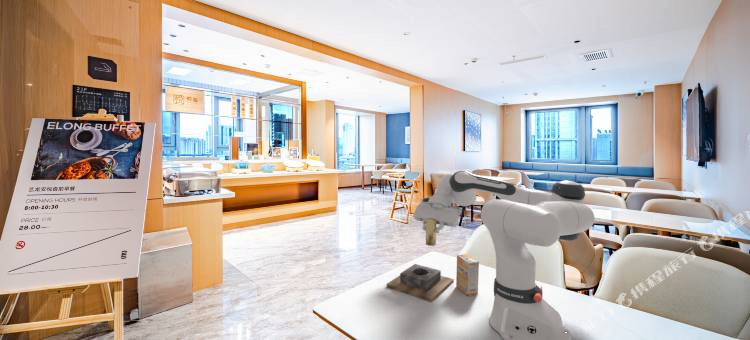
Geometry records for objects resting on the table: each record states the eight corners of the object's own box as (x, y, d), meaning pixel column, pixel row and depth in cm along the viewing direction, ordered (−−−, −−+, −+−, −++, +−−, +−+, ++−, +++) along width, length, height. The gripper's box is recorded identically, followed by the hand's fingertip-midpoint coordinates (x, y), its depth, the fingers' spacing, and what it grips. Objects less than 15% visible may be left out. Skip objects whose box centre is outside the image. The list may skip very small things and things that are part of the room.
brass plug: (437, 243, 133) (438, 219, 132) (433, 246, 129) (433, 221, 128) (428, 241, 135) (428, 217, 134) (423, 244, 132) (424, 219, 131)
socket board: (453, 281, 126) (453, 269, 125) (432, 302, 110) (432, 288, 109) (411, 270, 138) (411, 259, 137) (386, 286, 122) (386, 274, 121)
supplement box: (455, 286, 122) (456, 254, 121) (465, 284, 123) (466, 253, 122) (467, 296, 114) (468, 262, 113) (478, 294, 115) (479, 260, 114)
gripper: (464, 211, 134) (455, 239, 127) (422, 205, 146) (412, 230, 139) (460, 203, 130) (451, 231, 123) (418, 198, 142) (407, 223, 135)
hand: (430, 231), depth 131 cm, fingers closed on brass plug, 4 cm apart
